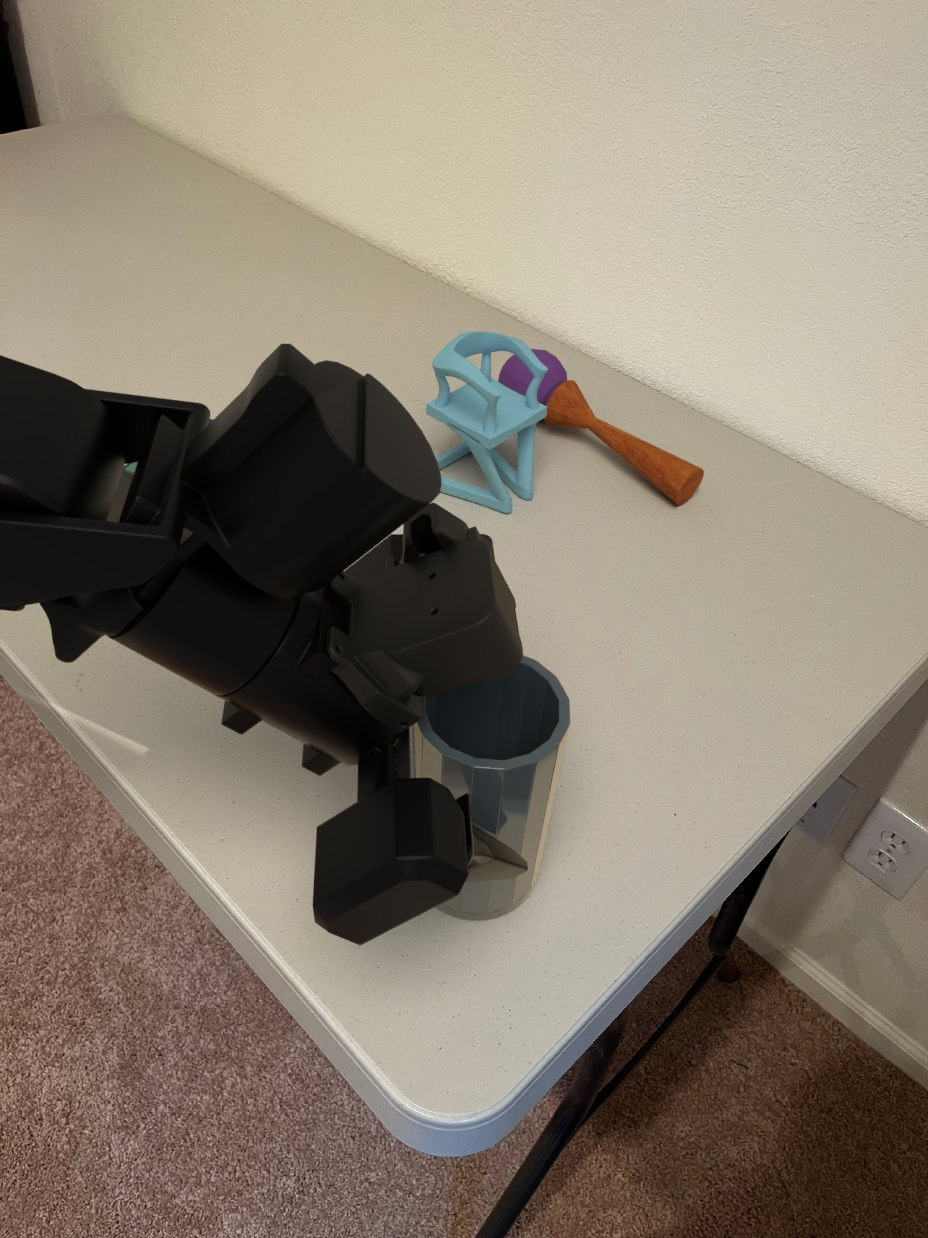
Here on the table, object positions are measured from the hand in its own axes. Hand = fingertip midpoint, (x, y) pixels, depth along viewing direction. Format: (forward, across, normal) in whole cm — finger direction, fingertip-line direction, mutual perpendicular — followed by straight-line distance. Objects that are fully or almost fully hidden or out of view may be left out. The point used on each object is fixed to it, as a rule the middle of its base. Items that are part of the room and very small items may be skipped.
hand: (510, 787), depth 44 cm
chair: (+6, +34, +4) cm, 35 cm away
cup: (+4, 0, +6) cm, 7 cm away
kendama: (+13, +39, -3) cm, 41 cm away
